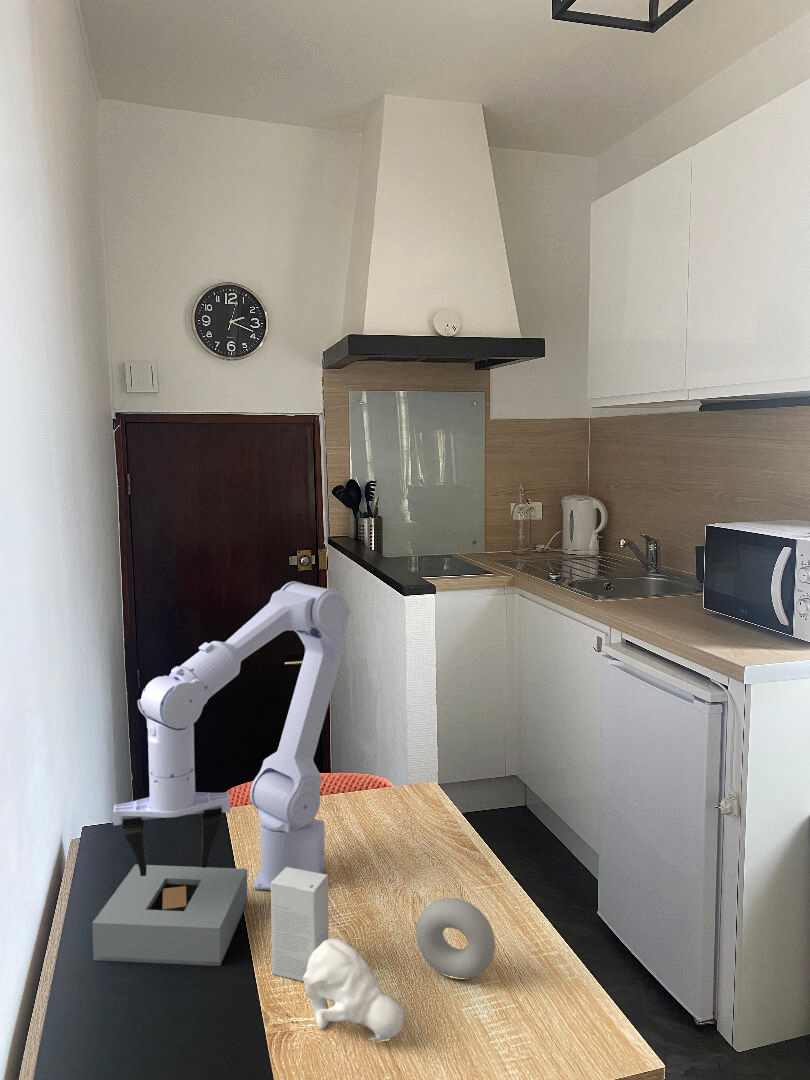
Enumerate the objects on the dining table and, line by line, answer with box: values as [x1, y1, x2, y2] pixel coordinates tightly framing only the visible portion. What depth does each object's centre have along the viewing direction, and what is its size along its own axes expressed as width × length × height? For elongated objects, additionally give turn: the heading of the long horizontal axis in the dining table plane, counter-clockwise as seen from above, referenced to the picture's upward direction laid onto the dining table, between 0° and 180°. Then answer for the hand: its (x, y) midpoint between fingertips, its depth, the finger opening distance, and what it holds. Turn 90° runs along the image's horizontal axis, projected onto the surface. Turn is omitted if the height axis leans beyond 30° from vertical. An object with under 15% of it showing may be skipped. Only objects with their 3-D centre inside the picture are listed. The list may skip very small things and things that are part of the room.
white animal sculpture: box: [302, 937, 405, 1042], centre depth 89 cm, size 6×8×12 cm
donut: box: [415, 897, 497, 980], centre depth 98 cm, size 10×3×10 cm, turn 69°
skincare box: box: [270, 867, 330, 982], centre depth 99 cm, size 6×4×12 cm
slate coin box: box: [91, 864, 248, 967], centre depth 107 cm, size 16×14×5 cm
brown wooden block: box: [162, 886, 186, 911], centre depth 107 cm, size 3×5×4 cm, turn 16°
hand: (174, 868), depth 106 cm, fingers open, 7 cm apart
